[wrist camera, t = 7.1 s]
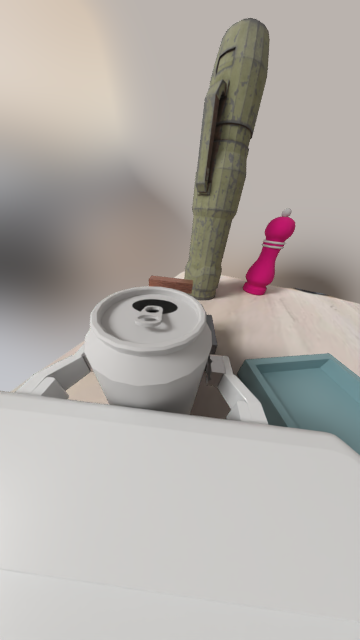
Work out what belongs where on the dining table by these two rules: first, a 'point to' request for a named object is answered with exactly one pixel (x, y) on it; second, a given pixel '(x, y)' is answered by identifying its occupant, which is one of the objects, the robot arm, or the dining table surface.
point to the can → (149, 348)
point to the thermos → (225, 148)
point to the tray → (307, 394)
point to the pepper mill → (269, 254)
